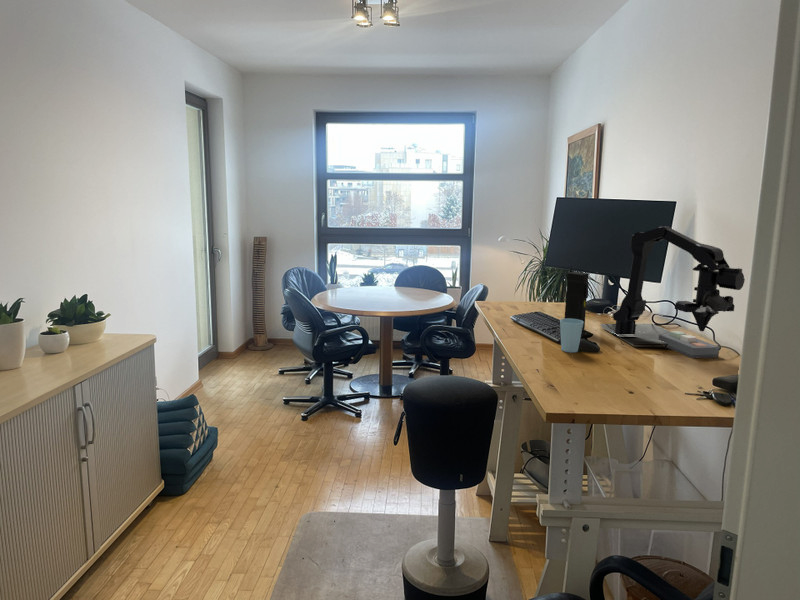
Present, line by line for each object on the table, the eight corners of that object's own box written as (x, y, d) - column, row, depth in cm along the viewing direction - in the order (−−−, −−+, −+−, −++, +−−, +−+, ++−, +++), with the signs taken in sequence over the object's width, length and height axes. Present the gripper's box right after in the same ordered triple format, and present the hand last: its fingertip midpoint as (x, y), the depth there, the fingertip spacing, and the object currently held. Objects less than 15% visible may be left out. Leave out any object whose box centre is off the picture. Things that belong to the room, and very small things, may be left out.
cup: (564, 354, 193) (567, 323, 192) (553, 347, 201) (556, 318, 199) (585, 353, 195) (587, 323, 193) (573, 347, 203) (575, 318, 201)
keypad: (692, 358, 192) (693, 348, 191) (658, 343, 209) (659, 334, 209) (718, 357, 194) (719, 347, 193) (682, 343, 211) (683, 333, 211)
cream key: (686, 344, 199) (687, 337, 199) (679, 342, 203) (680, 335, 202) (695, 344, 200) (696, 337, 199) (688, 341, 203) (689, 334, 203)
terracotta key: (697, 353, 194) (698, 345, 194) (690, 350, 198) (690, 343, 197) (706, 352, 195) (707, 345, 194) (699, 349, 198) (700, 342, 198)
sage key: (676, 340, 204) (677, 333, 204) (669, 338, 208) (670, 331, 207) (685, 340, 205) (686, 333, 205) (678, 337, 209) (679, 331, 208)
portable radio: (587, 330, 228) (593, 267, 223) (580, 332, 224) (586, 268, 219) (569, 326, 233) (574, 265, 228) (562, 328, 229) (567, 266, 224)
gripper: (699, 290, 182) (693, 338, 185) (750, 289, 186) (743, 336, 189) (676, 284, 193) (671, 329, 196) (724, 283, 197) (718, 328, 199)
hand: (701, 331), depth 195 cm, fingers closed
